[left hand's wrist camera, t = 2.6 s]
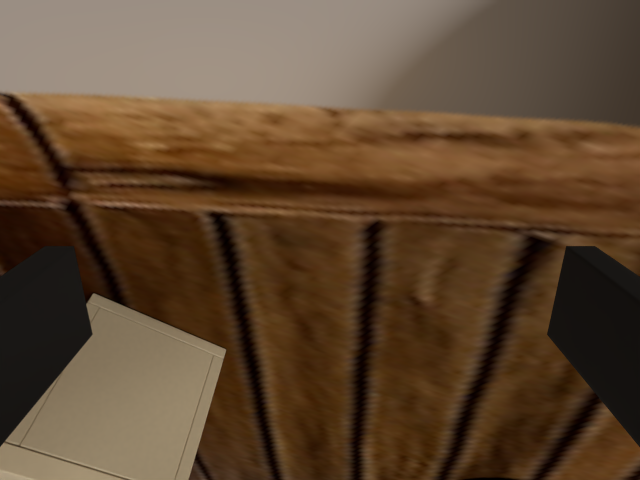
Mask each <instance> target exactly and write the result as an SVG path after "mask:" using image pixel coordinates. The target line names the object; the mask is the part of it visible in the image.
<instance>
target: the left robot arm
mask: <svg viewBox="0 0 640 480" xmlns="http://www.w3.org/2000/svg"><path fill="white" fill-rule="evenodd" d="M92 335H93V333H92V329H91V324H90V319H89V315H88V310H87V305H86V301H85V296H84V292H83V287H82V282H81V278H80V273H79V268H78V264H77V259H76V255H75V250H74V246H45V247H43V248H42V249H40V250H39V251H37V252H36V253H34V254H33V255H32V256H30V257H29V258H27V259H26V260H24V261H23V262H21V263H20V264H18V265H17V266H15V267H14V268H13V269H11V270H10V271H8V272H7V273H5V274H4V275H2V276H1V277H0V447H1V445H2V444H3V443H4V442H5V441H6V439H7V438H8V437H9V436H10V435H11V433H12V432H13V431H14V430H15V428H16V427H17V426H18V425H19V424H20V422H21V421H22V420H23V419H24V418H25V416H26V415H27V414H28V413H29V411H30V410H31V409H32V408H33V407H34V405H35V404H36V403H37V402H38V400H39V399H40V398H41V397H42V396H43V394H44V393H45V392H46V391H47V390H48V388H49V387H50V386H51V385H52V383H53V382H54V381H55V380H56V379H57V377H58V376H59V375H60V374H61V373H62V371H63V370H64V369H65V368H66V366H67V365H68V364H69V363H70V362H71V360H72V359H73V358H74V357H75V355H76V354H77V353H78V352H79V351H80V349H81V348H82V347H83V346H84V345H85V343H86V342H87V341H88V340H89V338H90V337H91V336H92ZM547 335H548V336H549V337H550V338H551V340H552V341H553V342H554V343H555V345H556V346H557V347H558V348H559V349H560V351H561V352H562V353H563V354H564V356H565V357H566V358H567V359H568V360H569V362H570V363H571V364H572V365H573V366H574V368H575V369H576V370H577V371H578V373H579V374H580V375H581V376H582V377H583V379H584V380H585V381H586V382H587V383H588V385H589V386H590V387H591V388H592V390H593V391H594V392H595V393H596V394H597V396H598V397H599V398H600V399H601V400H602V402H603V403H604V404H605V405H606V407H607V408H608V409H609V410H610V411H611V413H612V414H613V415H614V416H615V418H616V419H617V420H618V421H619V422H620V424H621V425H622V426H623V427H624V428H625V430H626V431H627V432H628V433H629V435H630V436H631V437H632V438H633V439H634V441H635V442H636V443H637V444H638V445H639V447H640V277H639V276H638V275H636V274H635V273H633V272H632V271H630V270H629V269H627V268H626V267H625V266H623V265H622V264H620V263H619V262H617V261H616V260H614V259H613V258H611V257H610V256H608V255H607V254H606V253H604V252H603V251H601V250H600V249H598V248H597V247H595V246H566V250H565V255H564V259H563V264H562V268H561V273H560V278H559V282H558V287H557V292H556V296H555V301H554V305H553V310H552V315H551V319H550V324H549V329H548V333H547Z"/></svg>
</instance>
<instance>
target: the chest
mask: <svg viewBox="0 0 640 480" xmlns="http://www.w3.org/2000/svg"><path fill="white" fill-rule="evenodd" d="M86 305H87V310H88V315H89V319H90V324H91V329H92V333H93V335H92V336H91V337H90V338H89V340H88V341H87V342H86V343H85V345H84V346H83V347H82V348H81V349H80V351H79V352H78V353H77V354H76V355H75V357H74V358H73V359H72V360H71V362H70V363H69V364H68V365H67V366H66V368H65V369H64V370H63V371H62V373H61V374H60V375H59V376H58V377H57V379H56V380H55V381H54V382H53V383H52V385H51V386H50V387H49V388H48V390H47V391H46V392H45V393H44V394H43V396H42V397H41V398H40V399H39V400H38V402H37V403H36V404H35V405H34V407H33V408H32V409H31V410H30V411H29V413H28V414H27V415H26V416H25V418H24V419H23V420H22V421H21V422H20V424H19V425H18V426H17V427H16V428H15V430H14V431H13V432H12V433H11V435H10V436H9V437H8V438H7V439H6V441H5V443H8V444H11V445H14V446H18V447H21V448H24V449H28V450H31V451H34V452H37V453H41V454H44V455H47V456H50V457H54V458H57V459H60V460H63V461H67V462H70V463H73V464H77V465H80V466H83V467H86V468H90V469H93V470H96V471H99V472H103V473H106V474H109V475H112V476H116V477H119V478H122V479H125V480H189V476H190V473H191V469H192V466H193V463H194V459H195V456H196V452H197V449H198V445H199V442H200V438H201V435H202V432H203V428H204V425H205V421H206V418H207V414H208V411H209V407H210V404H211V401H212V397H213V394H214V390H215V387H216V383H217V380H218V376H219V373H220V370H221V366H222V363H223V359H224V356H225V352H226V349H224V348H222V347H219V346H217V345H214V344H212V343H210V342H207V341H205V340H203V339H200V338H198V337H196V336H193V335H191V334H189V333H186V332H184V331H182V330H179V329H177V328H174V327H172V326H170V325H167V324H165V323H163V322H160V321H158V320H156V319H153V318H151V317H149V316H146V315H144V314H142V313H139V312H137V311H134V310H132V309H130V308H127V307H125V306H123V305H120V304H118V303H116V302H113V301H111V300H109V299H106V298H104V297H102V296H99V295H97V294H95V293H93V294H92V296H91V298H90V299H89V301H88V303H87V304H86Z"/></svg>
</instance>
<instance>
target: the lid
mask: <svg viewBox="0 0 640 480" xmlns="http://www.w3.org/2000/svg"><path fill="white" fill-rule="evenodd" d="M0 480H125V479H122V478H119V477H116V476H112V475H109V474H106V473H103V472H99V471H96V470H93V469H90V468H86V467H83V466H80V465H77V464H73V463H70V462H67V461H63V460H60V459H57V458H54V457H50V456H47V455H44V454H41V453H37V452H34V451H31V450H28V449H24V448H21V447H18V446H14V445H11V444H8V443H5V442H4V443H3V444H2V445H1V447H0Z"/></svg>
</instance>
